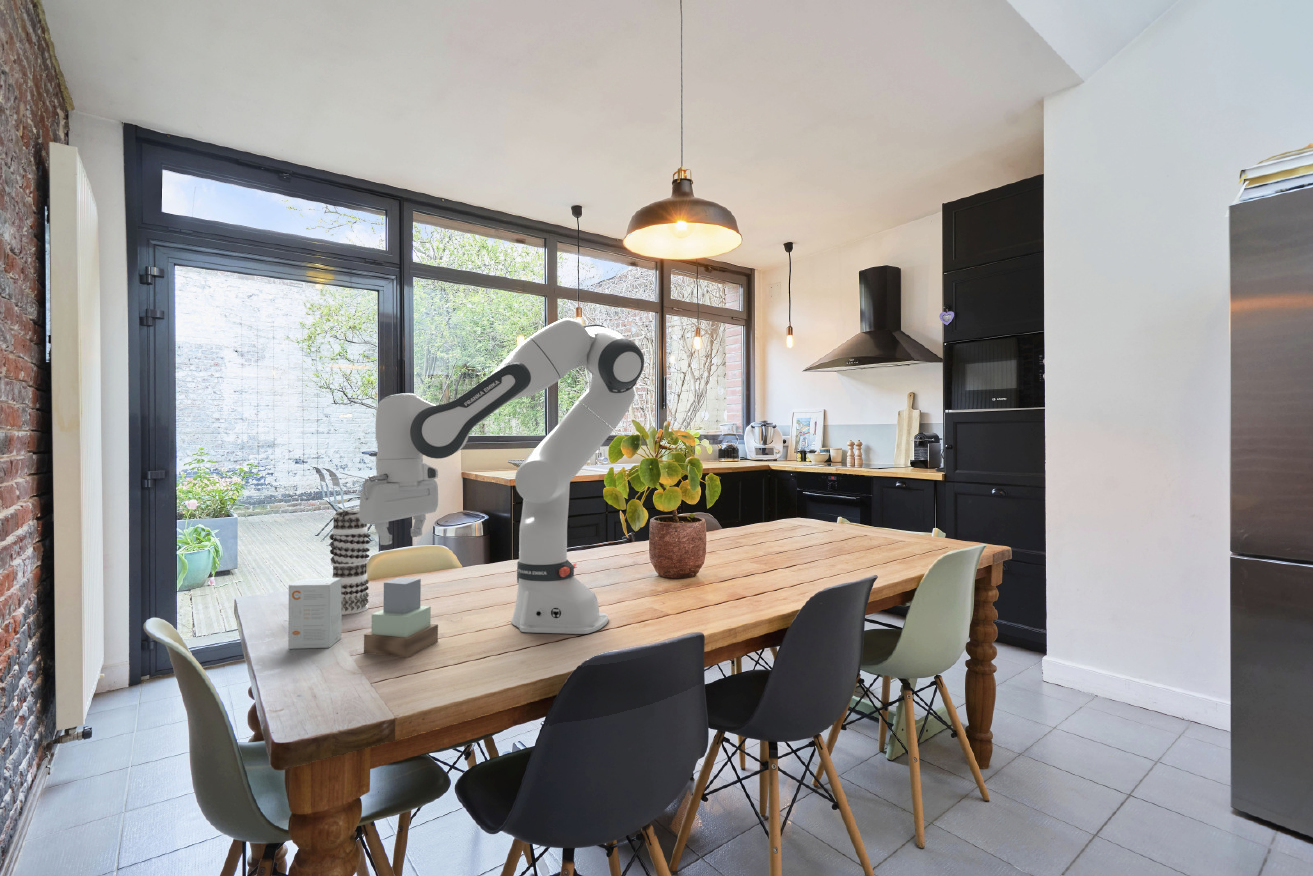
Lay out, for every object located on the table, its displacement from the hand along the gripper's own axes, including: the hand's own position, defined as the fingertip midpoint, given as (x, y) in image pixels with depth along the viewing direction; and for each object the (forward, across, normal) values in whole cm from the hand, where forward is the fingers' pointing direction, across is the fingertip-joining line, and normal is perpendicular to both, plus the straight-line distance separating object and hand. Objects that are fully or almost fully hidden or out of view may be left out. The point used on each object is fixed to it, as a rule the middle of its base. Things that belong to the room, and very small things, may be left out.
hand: (401, 540), depth 126 cm
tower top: (+18, 0, 0) cm, 18 cm away
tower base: (+22, 0, +1) cm, 22 cm away
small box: (+22, -3, +19) cm, 29 cm away
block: (+14, 0, 0) cm, 14 cm away
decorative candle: (+21, +20, +31) cm, 42 cm away
